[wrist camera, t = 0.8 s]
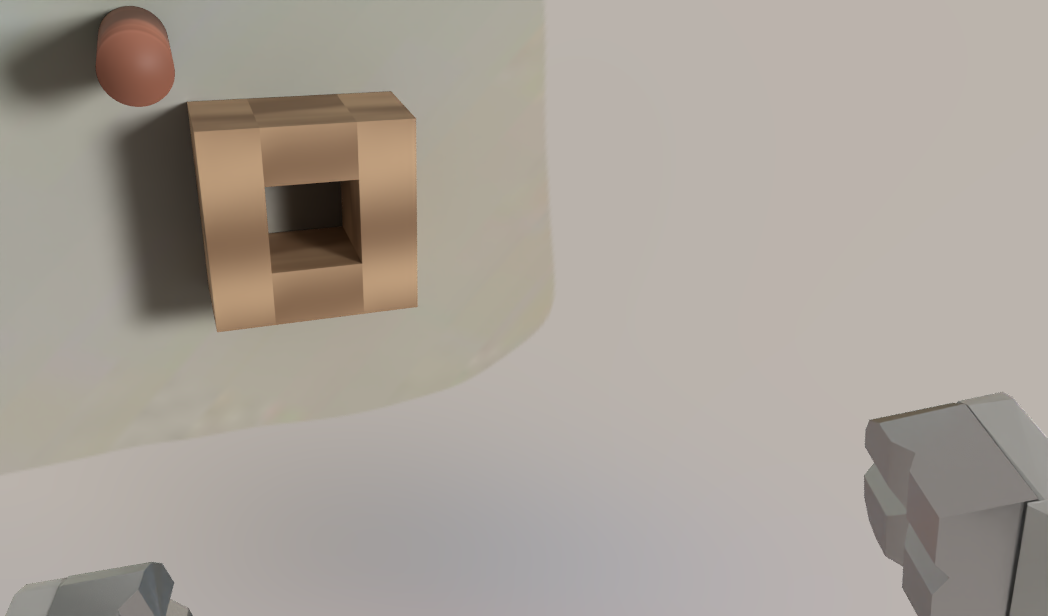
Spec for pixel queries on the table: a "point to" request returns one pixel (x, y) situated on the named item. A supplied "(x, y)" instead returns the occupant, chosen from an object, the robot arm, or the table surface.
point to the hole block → (302, 158)
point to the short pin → (134, 57)
